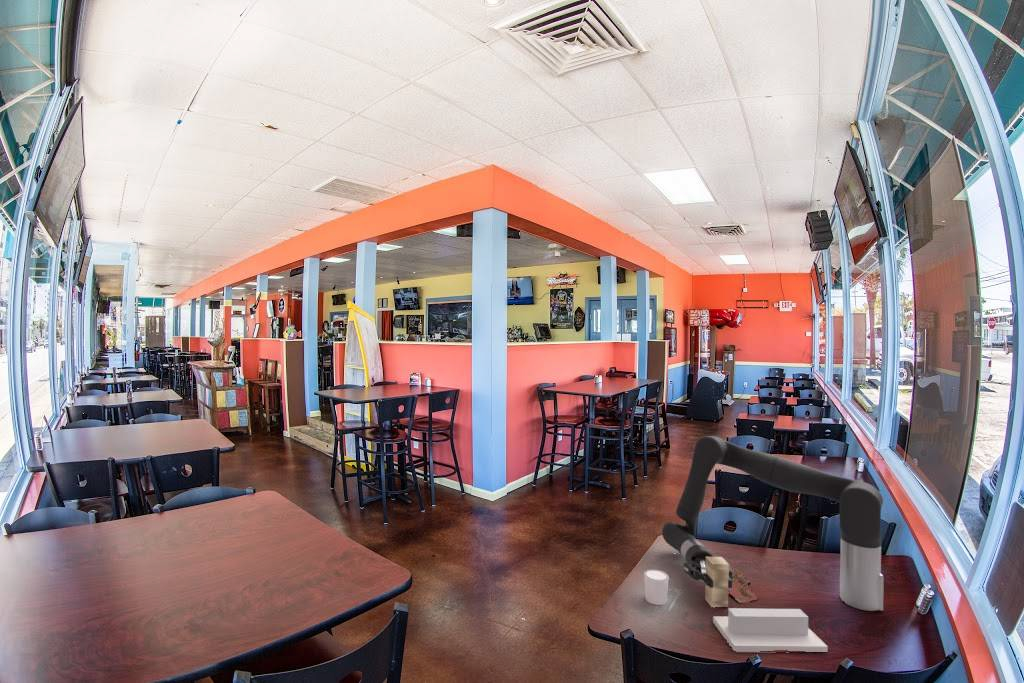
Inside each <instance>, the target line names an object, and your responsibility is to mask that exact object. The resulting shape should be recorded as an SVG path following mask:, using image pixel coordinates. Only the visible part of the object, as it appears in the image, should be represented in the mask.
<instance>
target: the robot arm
mask: <svg viewBox="0 0 1024 683" xmlns="http://www.w3.org/2000/svg"><path fill="white" fill-rule="evenodd" d="M692 456H693V457H692V461H691V465H690V470H689V474H688V476H687V480H686V483H685V486H684V488H683V492H682V494H681V497H680V499H679V501H678V505H677V506H676V509H675V514H676V516H677V517H678V518H679V519H681V520H683V521H684V522H685V525H683V524H680V523H678V522H675V521H668V522H666V523H665V524H663V526H662V529H661V531H662V532H661V533H662V538H663V539H664V541H665V543H666V544H668V546H670V547H672V548H673V549H675V551H677V552H679V554H680V556H682V558H683V560H684V563H683V573H685V574H687V576H689V577H690V578H691V579H693V580H694V581H695V582H696V581H697V582H699V581H701V582H703V583H704V585H705V584H706V585H707V586H709V587H710V588H713V580H712V579H711V578H710V576H709V575H708V574H706V557H714V556H713V553H711V551H709V550H708V549H707V547H705V545H704V544H703V543H701V542H700V541H699V540H698V539H697V538H696V528H697V521H698V517H699V514H700V511H701V509H702V507H703V503H704V501H705V495H706V490H707V484H708V481H709V477H710V474H712V471H713V469H714V468H715V466H716V464H717V465H721V466H726V467H729V468H734V469H737V470H740V471H742V472H744V473H746V474H748V475H749V476H751V477H753V478H754V479H756V480H759V481H761V482H762V483H765V484H767V485H770V486H773V487H775V488H778V489H781V490H785V491H787V492H792V493H797V494H803V495H804V494H805V495H812V496H816V497H817V496H818V497H822V498H825V499H828V500H831V501H832V502H833V501H834V502H836V503H838V504H839V530H840V562H839V567H840V568H839V570H840V571H839V574H840V575H839V598H841V599H840V600H841V601H842V602H843V601H844V602H845V603H844V602H843V603H844V604H846V605H848V606H851V607H853V608H854V609H857V610H858V609H859V610H862V611H867V612H868V611H869V612H875V611H884V574H882V572H881V568H882V566H881V565H882V562H881V561H882V533H881V517H882V516H881V515H882V514H881V512H882V507H883V505H884V499H883V495H882V493H881V492H880V491H879V490H878V489H877V488H876V487H875V486H873V485H872V484H870V483H868V482H864V481H860V480H856V479H852V478H848V477H843V476H838V475H833V474H830V473H827V472H825V471H821V470H819V469H816V468H814V467H811V466H808V465H805V464H801V463H799V462H796V461H793V460H791V459H787V458H784V457H780V456H777V455H774V454H770V453H766V452H762V451H757V450H753V449H749V448H745V447H743V446H740V445H737V444H736V443H732V442H730V441H727V440H726V439H724V438H721V437H719V436H715V435H713V436H712V435H707V436H702V437H700V438H699V439H698V440H697V441H696V443H695V446H694V451H693V455H692ZM727 563H728V562H727ZM728 564H729V580H728V588H732V582H733V578H732V574H733V571H732V569H731V567H732V566H731V564H730V563H728Z"/></svg>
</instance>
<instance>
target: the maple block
mask: <svg viewBox="0 0 1024 683" xmlns="http://www.w3.org/2000/svg"><path fill="white" fill-rule="evenodd" d="M729 564H730V563H729ZM729 564H728V562H727V560H725V558H724V557H722V556H713V557H706V574H708V575H709V576H710V578H711V579H712V580H713V588H710V587H709V586H707V585H706V584H705V583H704V585H705V586H704V587H705V589H704V592H705V593H704V597H705V598H704V599H705V601H706V602H707V603H708V605H709V606H710V608H712V607H713V608H714V609H715V607H728V608H729V594H728V580H729ZM713 608H712V609H713Z"/></svg>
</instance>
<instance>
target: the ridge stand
mask: <svg viewBox="0 0 1024 683" xmlns="http://www.w3.org/2000/svg"><path fill="white" fill-rule="evenodd" d="M727 609H728V612H727V613H728V615H727V616H725V615H724V616H716V615H715V616H713V617H712V623H713V625H715V627H716V628H717V630H718V631H719V632H720V634H721V635H722V637H723V638H724V640H725V639H726V640H727V641H726V640H725V641H726V642H727V644H728V643H729V644H728V645H729V647H730V646H731V647H732V648H731V647H730V648H731V650H732V651H733V650H734V651H736V652H735V653H761V652H760V651H774V650H788V651H805V652H829V651H828V647H829V646H828V645H827V644H826V643H825V642H824V641H823V640H822V639H821V638H820V637H818V636H817V634H816V633H815V632H813V631H812V630H811V628H809V616H808V615H807V614H806V613H805V612H804V611H803V610H802V609H801V608H740V607H739V608H738V607H736V608H735V607H733V608H729V607H728V608H727ZM734 651H733V652H734Z"/></svg>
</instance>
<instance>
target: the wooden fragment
mask: <svg viewBox="0 0 1024 683" xmlns="http://www.w3.org/2000/svg"><path fill="white" fill-rule="evenodd" d="M731 568H733V567H732V566H731ZM732 570H734V571H735V572H733V573H736V574H733V575H735V576H733V575H732V578H736V579H737V580H739V581H737V582H738V583H741V586H742V585H743V584H746V585H748V584H747V583H746V581H744V579H742V578H741V576H742V575H743V573H744V572H741V571H740V570H738V569H737V568H733V569H732ZM739 571H740V572H741V573H740V572H739ZM736 579H734V580H735V581H736ZM745 580H747V576H745ZM735 581H733V582H735ZM737 582H735V583H737ZM749 582H751V580H750V581H749ZM746 585H744V586H742V587H743V588H746V587H747V586H746ZM748 586H749V585H748ZM750 588H751V587H749V588H746V589H745V590H747V589H750ZM739 589H741V590H739ZM739 589H738V590H739V592H741V594H742V595H743V596H744V597H745V598H748V597H749V598H752V599H754V598H753V596H751V595H750V594H748V593H747V592H746V591H745V590H744V589H742V588H739ZM728 592H730V591H728ZM729 594H730V593H728V595H729ZM747 595H748V596H747ZM741 599H743V598H739V599H738V598H735V599H734V600H735V601H737V602H738V603H741V602H746V600H741ZM754 600H755V599H754Z"/></svg>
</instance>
